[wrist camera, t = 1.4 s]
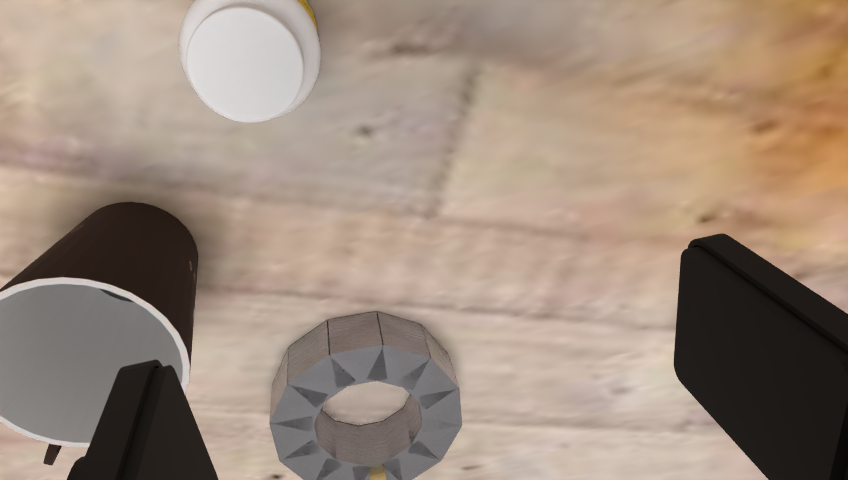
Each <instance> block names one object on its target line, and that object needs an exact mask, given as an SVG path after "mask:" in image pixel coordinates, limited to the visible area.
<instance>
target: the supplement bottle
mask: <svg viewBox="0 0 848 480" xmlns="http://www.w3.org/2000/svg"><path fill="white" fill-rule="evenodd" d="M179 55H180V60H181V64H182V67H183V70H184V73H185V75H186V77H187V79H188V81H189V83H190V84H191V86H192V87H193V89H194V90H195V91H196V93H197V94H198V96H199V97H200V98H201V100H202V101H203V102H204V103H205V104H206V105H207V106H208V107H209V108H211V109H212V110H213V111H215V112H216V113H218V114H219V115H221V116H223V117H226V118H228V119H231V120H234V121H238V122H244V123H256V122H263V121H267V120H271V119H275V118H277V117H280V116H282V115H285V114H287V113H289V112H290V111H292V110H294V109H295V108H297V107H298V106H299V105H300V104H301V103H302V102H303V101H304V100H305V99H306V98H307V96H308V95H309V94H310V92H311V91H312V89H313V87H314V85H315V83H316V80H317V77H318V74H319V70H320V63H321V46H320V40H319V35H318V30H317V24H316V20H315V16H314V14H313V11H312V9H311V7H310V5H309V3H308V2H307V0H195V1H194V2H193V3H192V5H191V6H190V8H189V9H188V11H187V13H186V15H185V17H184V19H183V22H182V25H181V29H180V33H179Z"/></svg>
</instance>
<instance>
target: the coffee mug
mask: <svg viewBox="0 0 848 480" xmlns="http://www.w3.org/2000/svg"><path fill="white" fill-rule="evenodd" d="M197 266H198V253H197V248H196V244H195V242H194V240H193V237H192V235H191V234H190V233H189V231H188V230H187V228H186V227H185V226H184V225H183V224H182V223H181V222H180V221H179V220H178V219H177V218H175V217H174V216H172V215H171V214H169V213H168V212H166V211H164V210H162V209H160V208H157V207H155V206H151V205H147V204H144V203H134V202H125V203H116V204H112V205H108V206H105V207H103V208H101V209H99V210H97V211H95V212H94V213H93V214H91V215H90V216H89V217H87V218H86V219H85V220H84V221H82V222H81V223H80V224H79V225H78V226H76V227H75V228H74V229H73V230H71V231H70V232H69V233H68V234H67V235H65V236H64V237H63V238H62V239H61V240H59V241H58V242H57V243H56V244H54V245H53V246H52V247H51V248H50V249H48V250H47V251H46V252H45V253H44V254H42V255H41V256H40V257H39V258H37V259H36V260H35V261H34V262H33V263H31V264H30V265H29V266H28V267H27V268H25V269H24V270H23V271H22V272H21V273H19V274H18V275H17V276H16V277H14V278H13V279H12V280H11V281H10V282H8V283H7V284H6V285H5V286H4V287H2V288H1V289H0V423H2V424H4V425H5V426H7V427H8V428H10V429H11V430H13V431H16V432H18V433H20V434H22V435H25V436H27V437H29V438H32V439H35V440H38V441H42V442H45V443H49V446H48V449H47V452H46V455H45V459H44V464H48V465H53V463H54V461H55V459H56V457H57V455H58V453H59V451H60V449H61V447H62V446H67V447H79V448H89V445H90V443H91V440H92V438H93V435H94V432H95V430H96V427H97V425H98V422H99V420H100V417H101V414H102V412H103V409H104V407H105V404H106V402H107V399H108V396H109V394H110V391H111V389H112V386H113V384H114V381H115V379H116V376H117V373H118V371H119V370H120V368H121V367H124V366H128V365H133V364H137V363H142V362H146V361H151V360H155V359H156V360H159V361H160V363H161V364H162V366H167V365H171V366H173V368H174V369H175V371H176V374H177V376H178V379H179V381H180V384H181V386H182V389H183V391H184V394H186V391H187V387H188V384H189V380H190V366H191V352H192V337H193V323H194V309H195V295H196V281H197Z"/></svg>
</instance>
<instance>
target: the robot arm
mask: <svg viewBox="0 0 848 480" xmlns="http://www.w3.org/2000/svg"><path fill="white" fill-rule="evenodd" d="M674 369H675V372H676V375H677V377H678V379H679V380H680V382H681V383H682V384H683V385H684V386H685V388H686V389H687V390H688V391H689V392H690V393H691V394H692V395H693V396H694V398H695V399H696V400H697V401H698V402H699V403H700V404H701V405H702V406H703V407H704V409H705V410H706V411H707V412H708V413H709V414H710V415H711V416H712V417H713V419H714V420H715V421H716V422H717V423H718V424H719V425H720V426H721V427H722V429H723V430H724V431H725V432H726V433H727V434H728V435H729V436H730V437H731V438H732V440H733V441H734V442H735V443H736V444H737V445H738V446H739V447H740V448H741V450H742V451H743V452H744V453H745V454H746V455H747V456H748V457H749V458H750V460H751V461H752V462H753V463H754V464H755V465H756V466H757V467H758V468H759V469H760V471H761V472H762V473H763V474H764V475H765V476H766V477H767V478H768V479H769V480H848V314H847V313H845V312H844V311H842V310H841V309H839V308H838V307H836V306H835V305H833V304H832V303H830V302H829V301H827V300H826V299H824V298H823V297H821V296H820V295H818V294H817V293H815V292H813V291H812V290H810V289H809V288H807V287H806V286H804V285H803V284H801V283H800V282H798V281H797V280H795V279H794V278H792V277H791V276H789V275H788V274H786V273H785V272H783V271H782V270H780V269H778V268H777V267H775V266H774V265H772V264H771V263H769V262H768V261H766V260H765V259H763V258H762V257H760V256H759V255H757V254H756V253H754V252H753V251H751V250H750V249H748V248H747V247H745V246H744V245H742V244H740V243H739V242H737V241H736V240H734V239H733V238H731V237H730V236H728V235H726V234H717V235H712V236H708V237H703V238H699V239H694V240H692V241H691V242H690V244H689V245H688V249H685V250H684V251H683V252H682V255H681V263H680V278H679V293H678V307H677V322H676V337H675V351H674ZM67 480H218V477H217V474H216V472H215V469H214V467H213V464H212V462H211V459H210V457H209V454H208V452H207V449H206V447H205V444H204V442H203V439H202V437H201V434H200V431H199V429H198V426H197V424H196V421H195V419H194V416H193V414H192V411H191V409H190V406H189V404H188V401H187V399H186V396H185V394H184V391H183V389H182V386H181V384H180V381H179V379H178V376H177V374H176V371H175V369H174V368H173V366H171V365H167V366H162V364H161V363H160V361H159V360H156V359H155V360H151V361H146V362H142V363H137V364H133V365H128V366H124V367H121V368H120V370H119V371H118V373H117V376H116V379H115V381H114V384H113V386H112V389H111V391H110V394H109V396H108V399H107V402H106V404H105V407H104V409H103V412H102V414H101V417H100V420H99V422H98V425H97V427H96V430H95V432H94V435H93V438H92V440H91V443H90V445H89V448H88V450H87V453H86V455H85V456H84V457H81V458H79V459H78V460H77V461H76V462H75V463H74V465H73V467H72V468H71V471H70V473H69V475H68V478H67Z"/></svg>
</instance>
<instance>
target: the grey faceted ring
mask: <svg viewBox="0 0 848 480" xmlns="http://www.w3.org/2000/svg"><path fill="white" fill-rule="evenodd" d="M373 381H380V382H384V383H388V384H392V385H396V386H399V387H403V388H405V389H406V390H407V391H408V392H409V393H410V394H411V395H410V396H409V398H408V400H407V402H406V404H405V406H404V408H402V409H401V410H399V411H398V412H396V413H395V414H393V415H392V416H390V417H389V418H387V419H386V420H384V421H383V422H377V423H372V424H367V425H362V426H355V425H350V424H346V423H341V422H337V421H334V420H333V419H331V418H330V417H329V416H328V415H327V414H326V413H325V412H323V411H322V410H321V408H322V406H323V403H324V402H325V401H327V400H328V399H329V398H331V397H332V396H334V395H335V394H337V393H338V392H340V391H341V390H343V389H344V388H345V387H347V386H351V385H356V384H362V383H367V382H373ZM461 427H462V418H461V405H460V392H459V386H458V383H457V380H456V377H455V375H454V372H453V369H452V366H451V363H450V360H449V357H448V354H447V352H446V351H445V350H444V349H443V348H442V347H441V346H440V345H439V344H438V342H437V341H436V340H435V339H434V338H433V337H432V336H431V335H430V334H429V333H428V331H427V330H426V329H425V328H424V327H423V326H422V325H421V324H418V323H415V322H411V321H408V320H404V319H401V318H398V317H394V316H391V315H387V314H384V313H381V312H377V313H376V312H370V313H364V314H358V315H352V316H346V317H341V318H335V319H329V320H328V321H327V320H326V321H325V322H323V323H322V324H321V325H319V326H318V327H316V328H315V329H314V330H312V331H311V332H309V333H308V334H307V335H305V336H304V337H302V338H301V339H300V340H298V341H297V342H295V343H294V344H292V345H291V346H290V347H289V348H288V350H287V352H286V354H285V357H284V359H283V361H282V363H281V366H280V368H279V370H278V373H277V375H276V377H275V379H274V382H273V384H272V396H271V410H270V428H271V431H272V435H273V439H274V442H275V446H276V450H277V453H278V457H279V460H280V462H282V463H283V464H284V465H285V466H287V467H288V468H289V469H291V470H292V471H293V472H294V473H296V474H297V475H298V476H300V477H301V478H302V479H303V480H412V479H414V478H415V477H417V476H418V475H420V474H422V473H423V472H425V471H426V470H428V469H429V468H431V467H432V466H434V465H435V464H437V463H438V462H440V461H441V460H442V459H443V457H444V455H445V454H446V452H447V450H448V449H449V447H450V445H451V444H452V442H453V440H454V438H455V437H456V435H457V433H458V432H459V430H460V428H461Z"/></svg>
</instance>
